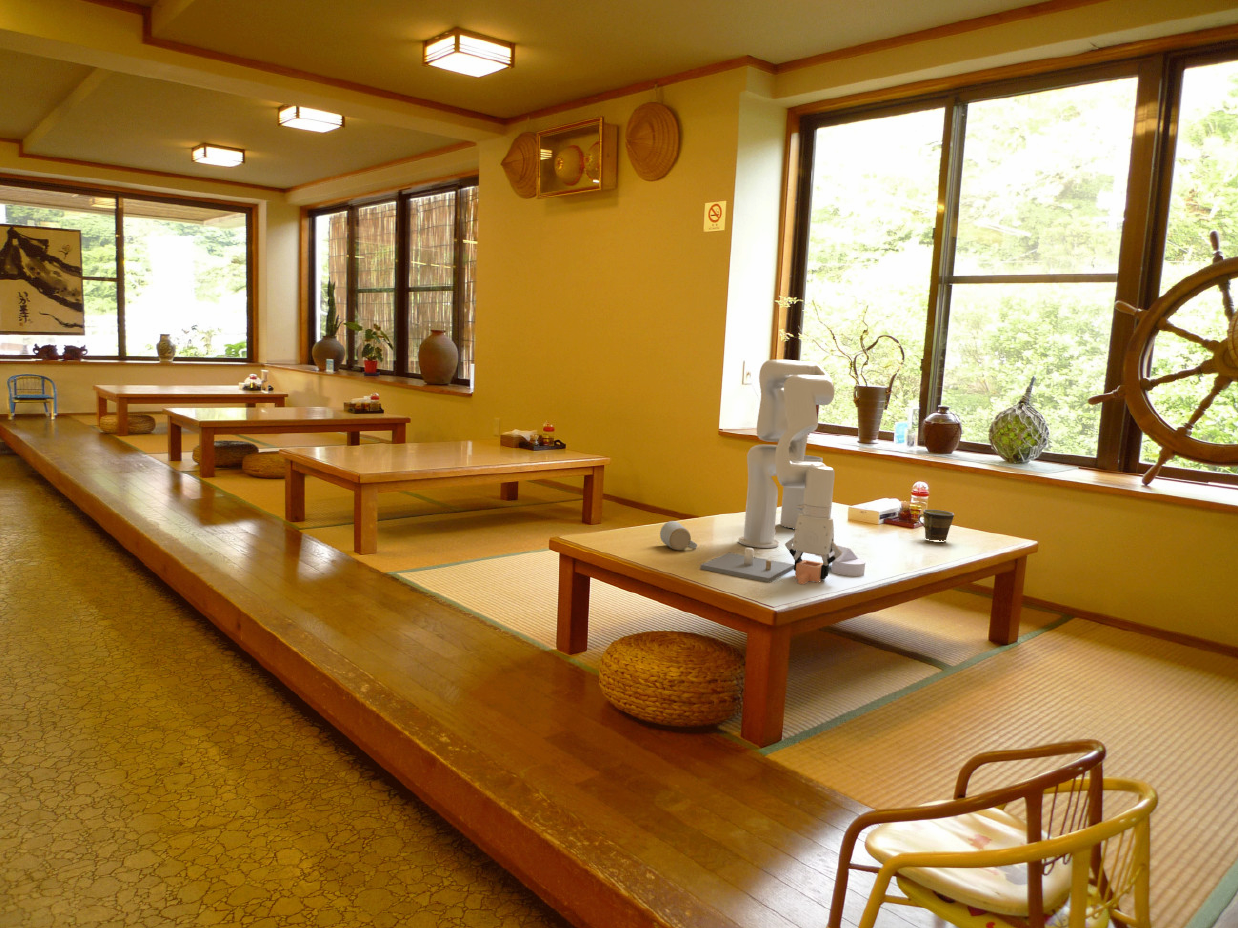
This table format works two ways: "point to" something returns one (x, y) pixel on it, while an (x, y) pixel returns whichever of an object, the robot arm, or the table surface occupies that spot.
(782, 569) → the base plate
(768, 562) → the dowel pin
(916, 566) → the table surface
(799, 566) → the square frame with post
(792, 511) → the cylinder vase
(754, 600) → the table surface
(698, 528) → the table surface
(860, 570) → the wedge on round base
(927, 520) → the ceramic cup
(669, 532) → the ceramic mug
